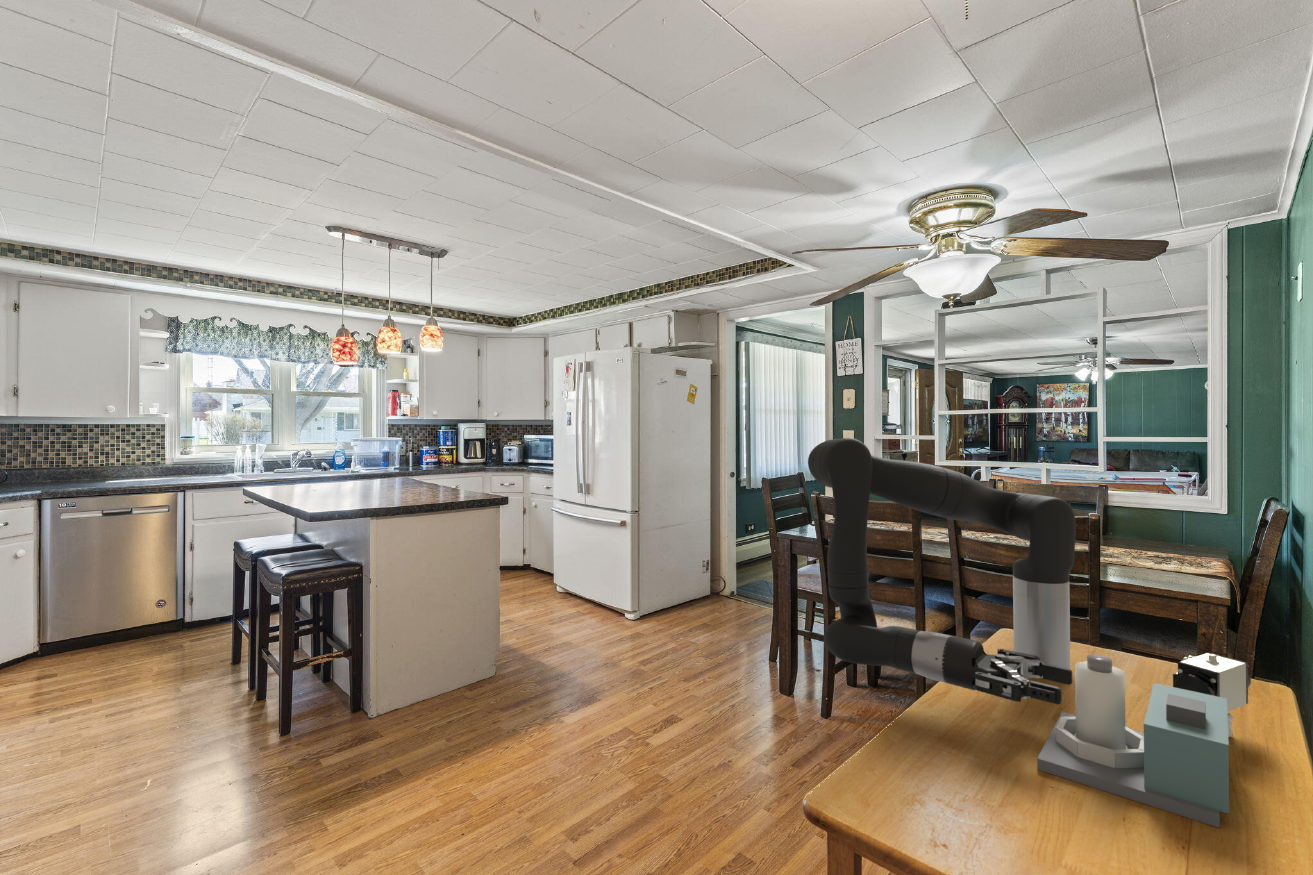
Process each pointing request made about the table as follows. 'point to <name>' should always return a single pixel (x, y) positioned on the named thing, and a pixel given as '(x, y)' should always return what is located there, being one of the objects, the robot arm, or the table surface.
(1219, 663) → the pneumatic valve
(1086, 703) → the bottle
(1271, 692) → the table surface
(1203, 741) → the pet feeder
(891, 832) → the table surface
